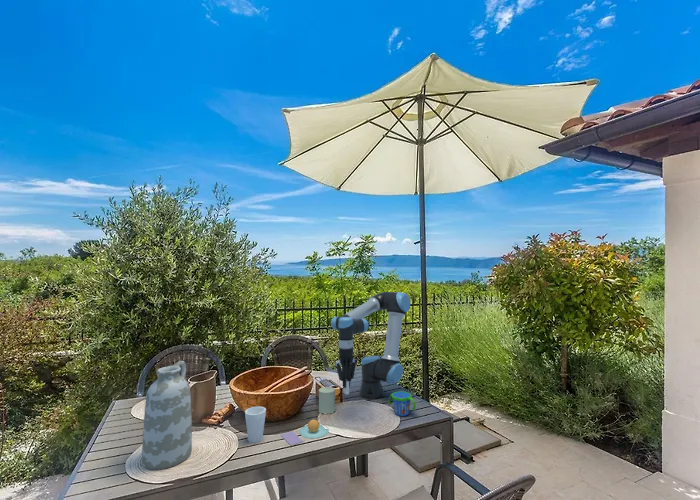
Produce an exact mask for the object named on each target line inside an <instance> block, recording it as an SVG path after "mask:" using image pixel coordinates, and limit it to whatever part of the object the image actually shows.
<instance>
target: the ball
mask: <svg viewBox="0 0 700 500" xmlns="http://www.w3.org/2000/svg"><path fill="white" fill-rule="evenodd" d="M319 424H320V422H319V421H318V420H317V419H311V420H310V421H309V422H308V423H307V425H308V429H309V431H310V432H316V431H317V430H318V429H319Z"/></svg>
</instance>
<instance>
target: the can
mask: <svg viewBox="0 0 700 500" xmlns="http://www.w3.org/2000/svg"><path fill="white" fill-rule="evenodd" d="M335 394H336V388H335V387H331V386H324V387H323V386H322V387H320V388H319V389H318V413H319V414H321V413H332V414H333V412H334V411H335V412H336V395H335ZM335 412H334V413H335Z"/></svg>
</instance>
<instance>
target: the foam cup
mask: <svg viewBox="0 0 700 500" xmlns="http://www.w3.org/2000/svg"><path fill="white" fill-rule="evenodd" d="M266 411H267V408H266V407H264V406H252V407H249V408H247V409H245V410H244V412H245V413H244V417H245V424H246V425H245V426H246V431H247V440H248V442H249V443H259V442H261V441H262V440H263V436H264V430H265V429H264V428H265V421H266V415H267V412H266Z"/></svg>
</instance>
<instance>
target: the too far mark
mask: <svg viewBox="0 0 700 500" xmlns="http://www.w3.org/2000/svg"><path fill="white" fill-rule="evenodd" d="M280 436H281V437H282V438H283V439H284V440H285V442H287V444H288V445H289V446H294V445H297V444H300V443H303V442H304V441H303V439H301V438H300V437H299V436H298V435H297V434H296V433H294V432H293V430H291V431H287V432H284V433H281V434H280Z"/></svg>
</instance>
